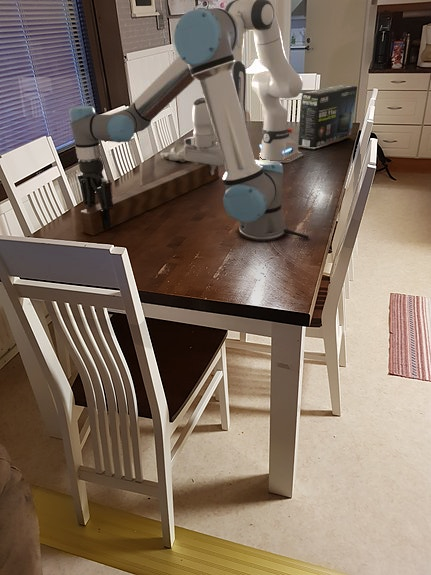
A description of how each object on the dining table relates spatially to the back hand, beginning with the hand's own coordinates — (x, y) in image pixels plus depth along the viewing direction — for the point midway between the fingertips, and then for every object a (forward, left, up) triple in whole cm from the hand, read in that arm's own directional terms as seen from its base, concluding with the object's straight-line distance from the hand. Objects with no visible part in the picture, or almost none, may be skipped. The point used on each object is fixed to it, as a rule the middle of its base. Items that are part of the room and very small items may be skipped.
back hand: (205, 173), depth 196 cm
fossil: (-14, -37, -3) cm, 40 cm away
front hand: (+58, +12, -2) cm, 59 cm away
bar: (+29, +6, -3) cm, 30 cm away
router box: (-84, 0, -3) cm, 84 cm away
